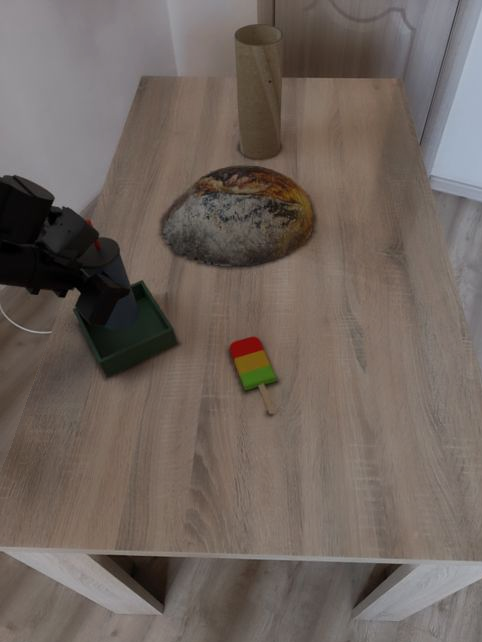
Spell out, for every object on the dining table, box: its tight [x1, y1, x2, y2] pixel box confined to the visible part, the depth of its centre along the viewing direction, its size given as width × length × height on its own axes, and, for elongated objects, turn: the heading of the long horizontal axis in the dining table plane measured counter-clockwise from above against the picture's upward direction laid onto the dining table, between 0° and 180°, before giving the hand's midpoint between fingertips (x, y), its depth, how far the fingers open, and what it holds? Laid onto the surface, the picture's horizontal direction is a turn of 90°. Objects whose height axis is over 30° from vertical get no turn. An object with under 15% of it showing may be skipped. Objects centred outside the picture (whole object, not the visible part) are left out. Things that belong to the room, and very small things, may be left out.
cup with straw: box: [76, 218, 139, 330], centre depth 72 cm, size 7×7×18 cm
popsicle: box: [229, 336, 277, 415], centre depth 79 cm, size 6×15×2 cm, turn 20°
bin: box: [72, 279, 178, 378], centre depth 83 cm, size 13×13×4 cm
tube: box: [234, 23, 284, 160], centre depth 107 cm, size 10×10×25 cm
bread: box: [162, 164, 315, 267], centre depth 98 cm, size 27×32×10 cm
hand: (116, 279), depth 74 cm, fingers closed on cup with straw, 6 cm apart
